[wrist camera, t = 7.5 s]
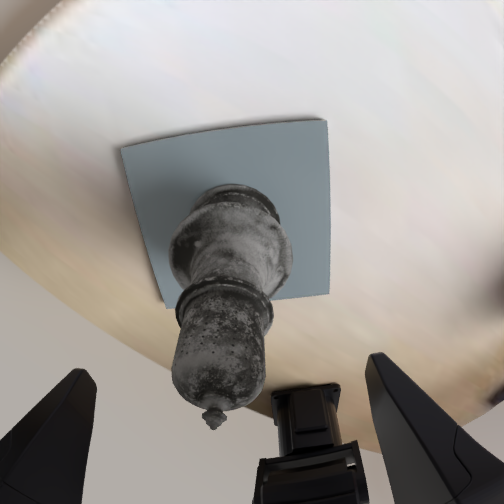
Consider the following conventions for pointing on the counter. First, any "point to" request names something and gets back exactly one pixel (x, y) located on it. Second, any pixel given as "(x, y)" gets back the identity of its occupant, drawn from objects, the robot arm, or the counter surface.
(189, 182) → the coaster
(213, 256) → the grey stone finial
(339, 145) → the counter surface
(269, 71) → the counter surface
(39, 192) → the counter surface
